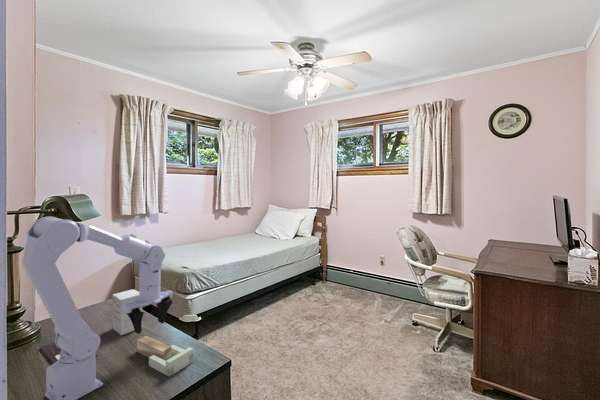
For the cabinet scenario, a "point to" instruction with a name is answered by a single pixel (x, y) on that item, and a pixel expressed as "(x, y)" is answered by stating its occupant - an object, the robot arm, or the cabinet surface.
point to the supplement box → (119, 316)
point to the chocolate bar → (52, 352)
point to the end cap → (172, 361)
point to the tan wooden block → (154, 348)
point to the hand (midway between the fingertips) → (149, 327)
